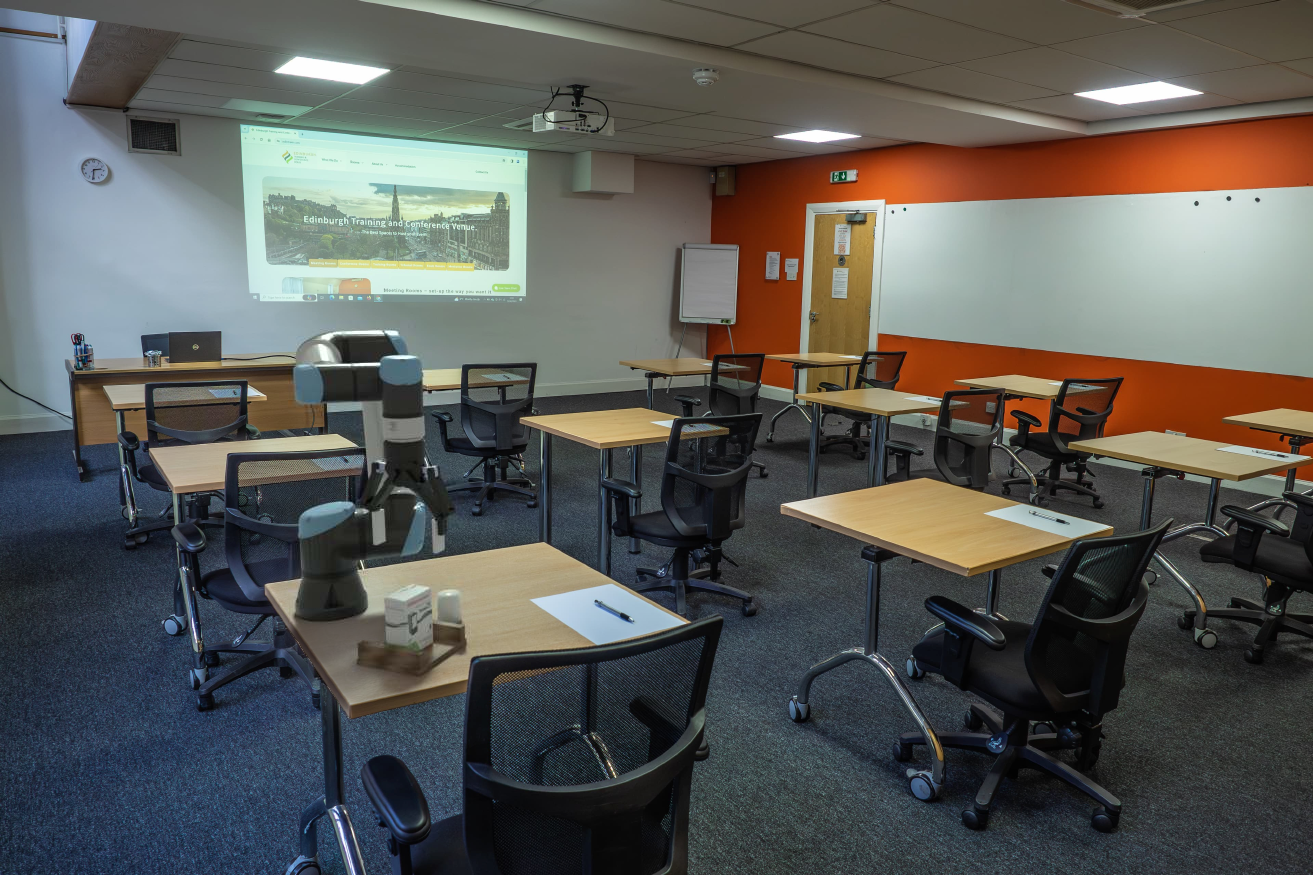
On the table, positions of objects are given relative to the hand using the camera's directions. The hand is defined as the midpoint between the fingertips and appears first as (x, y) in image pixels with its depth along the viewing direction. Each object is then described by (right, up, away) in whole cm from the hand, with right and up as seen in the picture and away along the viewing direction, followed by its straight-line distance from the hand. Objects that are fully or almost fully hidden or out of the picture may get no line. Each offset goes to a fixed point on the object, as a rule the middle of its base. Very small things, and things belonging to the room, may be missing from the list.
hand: (408, 547), depth 161 cm
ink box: (-1, -21, +3) cm, 21 cm away
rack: (0, -21, +4) cm, 22 cm away
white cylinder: (+3, -18, +20) cm, 28 cm away
